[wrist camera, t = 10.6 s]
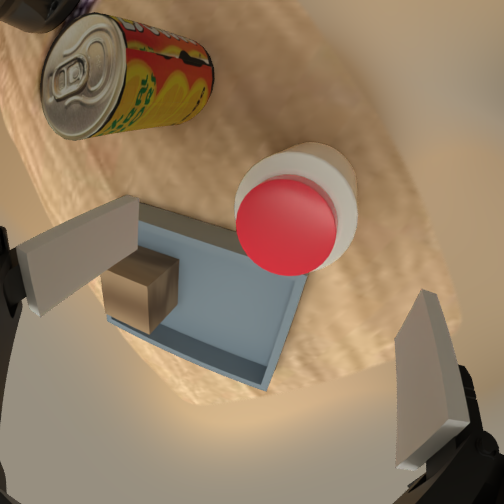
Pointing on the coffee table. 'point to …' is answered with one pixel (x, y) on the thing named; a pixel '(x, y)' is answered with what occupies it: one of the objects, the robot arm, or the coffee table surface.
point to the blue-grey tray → (219, 300)
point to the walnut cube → (141, 288)
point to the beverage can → (121, 78)
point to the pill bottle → (297, 209)
